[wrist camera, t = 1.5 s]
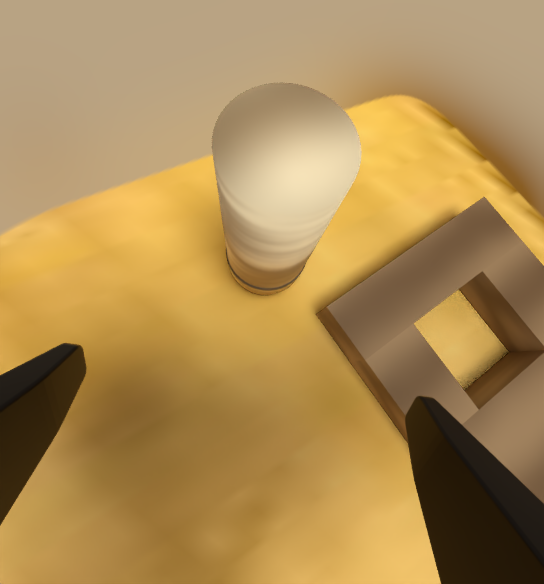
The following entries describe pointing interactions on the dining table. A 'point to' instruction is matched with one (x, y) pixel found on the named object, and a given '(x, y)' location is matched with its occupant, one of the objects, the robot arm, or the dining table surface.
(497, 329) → the board
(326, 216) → the peg
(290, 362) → the dining table surface
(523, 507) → the robot arm
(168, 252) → the dining table surface
